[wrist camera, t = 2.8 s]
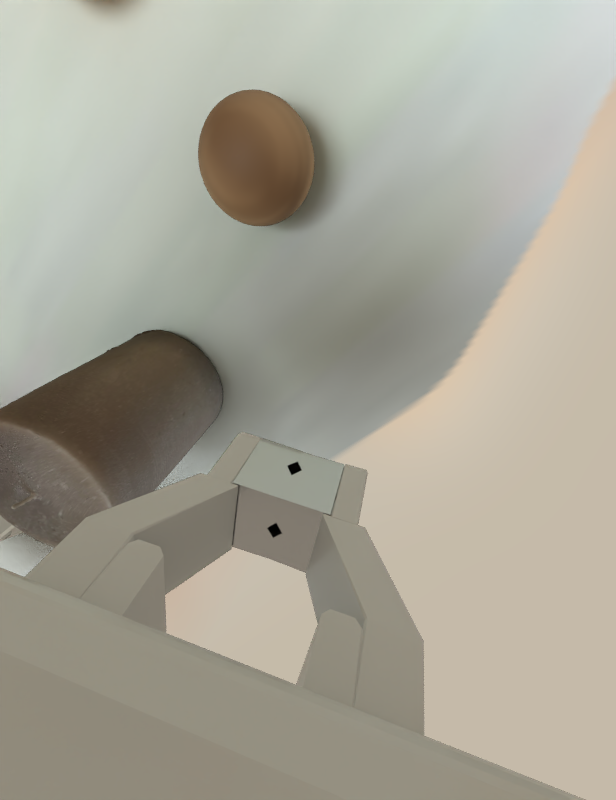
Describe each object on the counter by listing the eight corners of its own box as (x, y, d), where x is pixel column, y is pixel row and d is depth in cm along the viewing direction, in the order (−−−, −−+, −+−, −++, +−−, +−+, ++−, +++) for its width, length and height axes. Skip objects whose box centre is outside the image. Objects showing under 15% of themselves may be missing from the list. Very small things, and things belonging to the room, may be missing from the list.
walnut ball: (275, 243, 24) (238, 256, 19) (210, 163, 23) (151, 155, 18) (346, 169, 21) (324, 162, 16) (276, 74, 20) (228, 34, 15)
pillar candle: (103, 338, 32) (-106, 440, 19) (201, 320, 28) (27, 428, 16) (151, 434, 36) (5, 569, 23) (241, 427, 33) (129, 581, 20)
